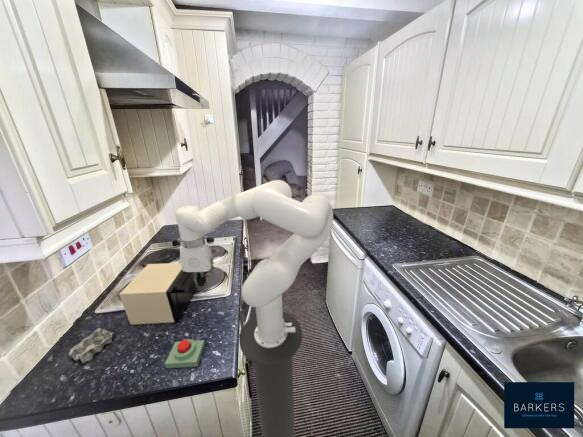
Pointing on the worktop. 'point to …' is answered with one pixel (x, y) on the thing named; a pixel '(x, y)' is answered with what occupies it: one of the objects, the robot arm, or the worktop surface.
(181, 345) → the button
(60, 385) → the worktop surface
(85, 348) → the egg carton
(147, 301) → the oven
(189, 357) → the control block
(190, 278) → the oven door
